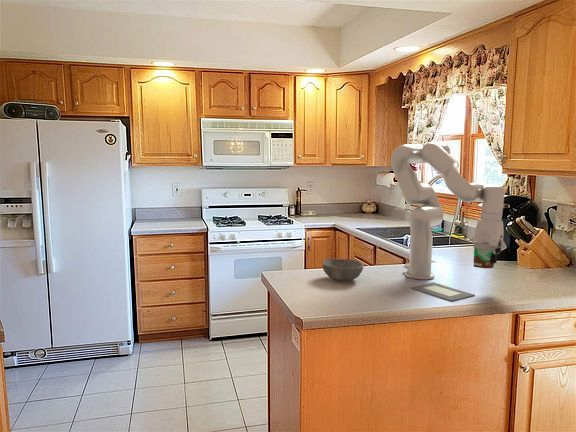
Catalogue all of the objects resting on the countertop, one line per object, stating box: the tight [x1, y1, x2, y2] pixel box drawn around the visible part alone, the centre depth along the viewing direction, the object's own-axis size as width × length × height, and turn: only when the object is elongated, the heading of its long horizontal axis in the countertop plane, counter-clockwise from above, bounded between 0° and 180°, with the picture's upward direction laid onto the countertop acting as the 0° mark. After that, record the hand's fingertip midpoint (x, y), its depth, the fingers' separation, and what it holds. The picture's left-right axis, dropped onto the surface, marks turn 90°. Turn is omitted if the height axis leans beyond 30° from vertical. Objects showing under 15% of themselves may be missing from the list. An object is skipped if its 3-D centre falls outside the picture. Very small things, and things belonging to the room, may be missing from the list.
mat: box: [410, 282, 475, 303], centre depth 185 cm, size 20×14×1 cm
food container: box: [473, 243, 497, 269], centre depth 184 cm, size 12×6×10 cm, turn 125°
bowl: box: [322, 258, 365, 282], centre depth 200 cm, size 18×18×8 cm
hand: (486, 261), depth 185 cm, fingers closed on food container, 5 cm apart
